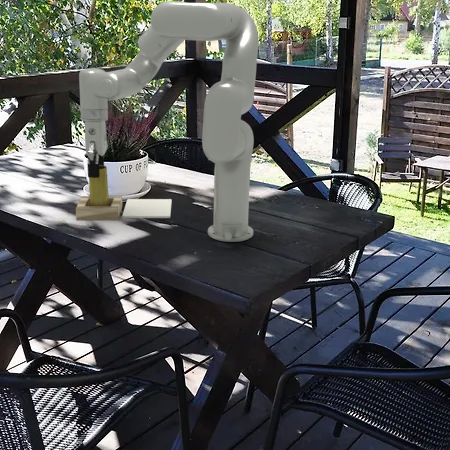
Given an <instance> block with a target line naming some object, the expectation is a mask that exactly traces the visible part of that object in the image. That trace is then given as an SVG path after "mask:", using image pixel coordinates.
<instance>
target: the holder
mask: <svg viewBox="0 0 450 450" xmlns="http://www.w3.org/2000/svg"><path fill="white" fill-rule="evenodd" d="M122 209H123V196H122V195H109V206H90V195H82V196H81V198H80V200H79V202H78V204H77V206H76V207H75V219H76V221H119V219H120V217H121V216H120V215H121V213H122Z"/></svg>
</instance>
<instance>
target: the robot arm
mask: <svg viewBox="0 0 450 450" xmlns="http://www.w3.org/2000/svg"><path fill="white" fill-rule="evenodd" d="M258 32H259V31H258V29H257V25H256V23H255V21H254V19H253V18H252V16H251V15H250V14H249V13H248V12H247V11H246V10H244V8H242V7H241V6H238V5H236V4H234V3H233V4H232V3H228V2H186V1H185V2H184V1H173V0H171V1H170V0H169V1H167V0H166V1H163V2H160V3H158V5H156V6H155V7H154V9H153V10H152V12H151V15H150V26H149V27H148V28H147V29H146V30H145V31H144V32H143V33H142V34H141V35H140V36H139V38H138V41H137V45H138V48H139V51H138V54H136V56H135V57H134V59H133V60H132V61H131V62H129V64H128V65H127V66H126V67H124V68H123V69H117V70H113V71H106V70H105V69H101V68H84V69H83V68H82V69H81V70H80V71H79V74H78V79H79V80H78V81H79V83H78V84H79V103H80V104H79V105H80V106H79V107H80V120H81V121H83V122H84V143H85V155H86V156H88V157H87V177H88V179H89V178H99V176H100V173H99V165H104V166H105V153H106V152H107V149H108V142H107V127H106V126H107V125H106V121H108V120H109V111H108V109H109V108H108V107H109V106H108V104H109V103H108V100H109V101H117V100H121V99H124V98H128V97H131V96H135V95H136V94H137V93H139V92H140V91H141V90H142V89H143V88H145V86H147V84H149V82H151V80H152V79H153V78H155V77H156V75H157V74H158V72H159V71H160V68H161V67H162V64H163V63H164V62H165V60H167V59H168V58H169V56H171V54H172V53H173V52H174V51H175V50H177V48H178V47H179V46H180V45H181V44H182V43H184V41H201V42H202V41H203V42H213V41H214V42H215V41H220V40H224V41H225V50H224V53H223V58H222V69H221V77H220V81H218V82H216V83H214V84H213V85H212V86H211V87H209V89H208V92H207V94H206V96H205V99H204V107H203V119H202V121H203V122H202V134H201V135H202V137H201V142H202V149H203V150H202V151H203V153H204V155H205V156H206V158H207V159H208V160H209V161H210V162H212V163H214V171H213V172H214V176H213V177H214V180H213V184H214V185H213V224H212V225H210V226H209V227H208V229H207V235H208V236H209V237H210V238H212V239H213V240H217V241H221V242H227V243H229V242H230V243H232V242H233V243H235V242H243V241H244V242H245V241H246V240H249V239H251V238H252V237H253V236H254V229H253V228H252V227H251V226H249V205H250V181H251V165H252V164H251V163H252V157H253V150H254V145H255V144H254V142H255V141H254V140H255V139H254V132H253V129H252V127H251V126H250V124H249V123H247V122H246V121H244V120H243V119H241V118H242V115H244V114H246V113H247V112H248V111H249V110H250V109H251V108H252V107H253V105H254V100H255V89H256V76H257V62H258V50H259V33H258Z"/></svg>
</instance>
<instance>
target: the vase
mask: <svg viewBox="0 0 450 450" xmlns="http://www.w3.org/2000/svg"><path fill="white" fill-rule="evenodd" d="M99 173H100V176H99V178H89V177H88V182H89V183H88V185H89V196H90V206H109V196H110V194H109V185H108V184H109V183H108V167H107V166H106V165H105V164H104V165H99Z"/></svg>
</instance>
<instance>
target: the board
mask: <svg viewBox="0 0 450 450" xmlns="http://www.w3.org/2000/svg"><path fill="white" fill-rule="evenodd" d="M172 202H173V201H172V199H171V198H166V199H165V198H164V199H163V198H159V199H158V198H157V199H156V198H135V199H134V198H127V200H126V203H125V206H124V209H123V212H122V214H121V215H122V217H121V218H122V219H171V212H172Z"/></svg>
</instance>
